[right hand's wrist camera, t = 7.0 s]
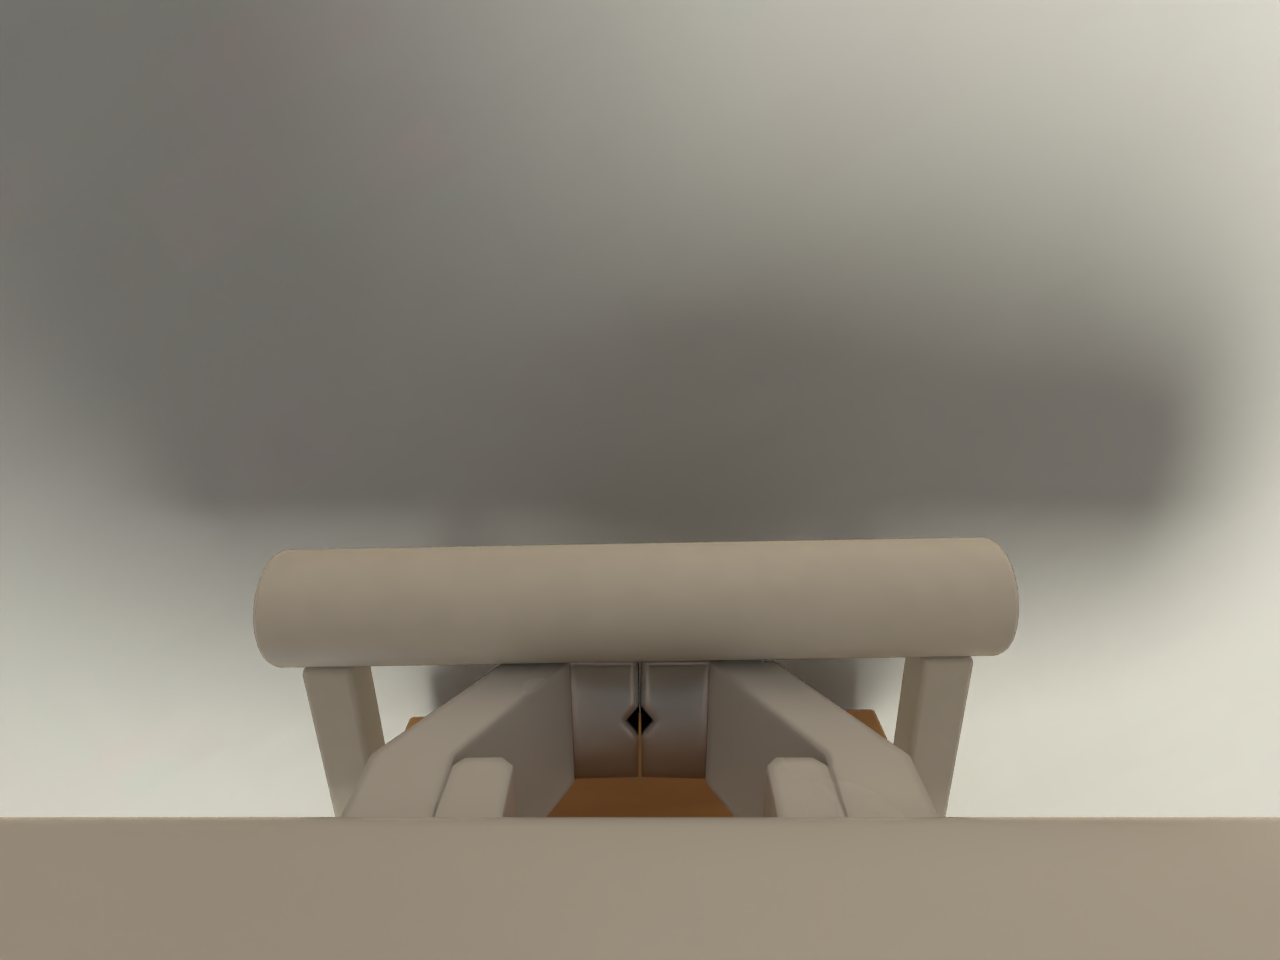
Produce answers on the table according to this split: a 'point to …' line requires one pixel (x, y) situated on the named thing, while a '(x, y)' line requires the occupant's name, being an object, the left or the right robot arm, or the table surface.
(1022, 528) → the table surface
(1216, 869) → the right robot arm
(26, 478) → the table surface
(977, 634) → the drawer
